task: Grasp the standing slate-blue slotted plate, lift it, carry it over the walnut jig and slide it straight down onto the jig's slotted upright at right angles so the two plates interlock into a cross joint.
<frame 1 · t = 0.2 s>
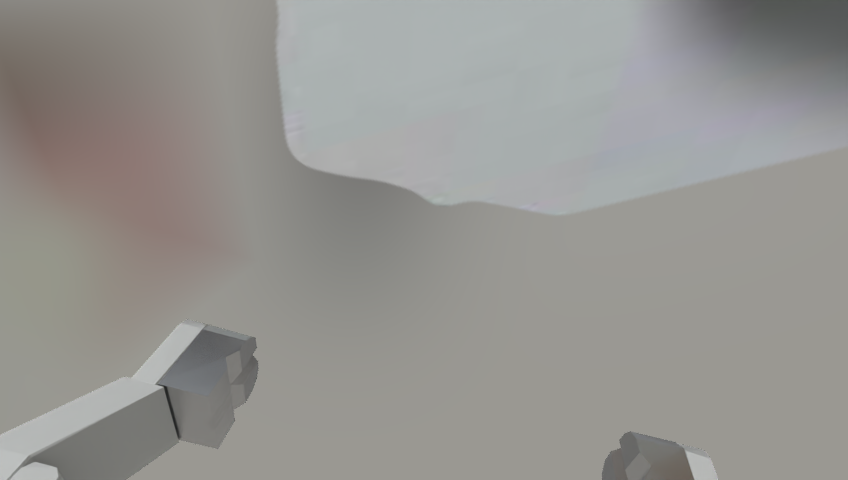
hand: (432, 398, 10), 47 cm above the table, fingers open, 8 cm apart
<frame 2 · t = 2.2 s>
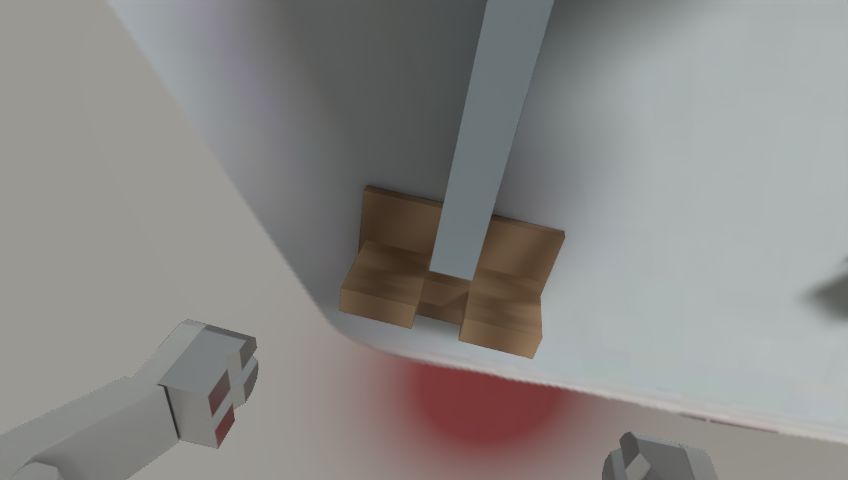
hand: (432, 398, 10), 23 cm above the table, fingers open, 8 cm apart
slotted plate: (492, 95, 28), on the table
jig: (450, 265, 37), on the table
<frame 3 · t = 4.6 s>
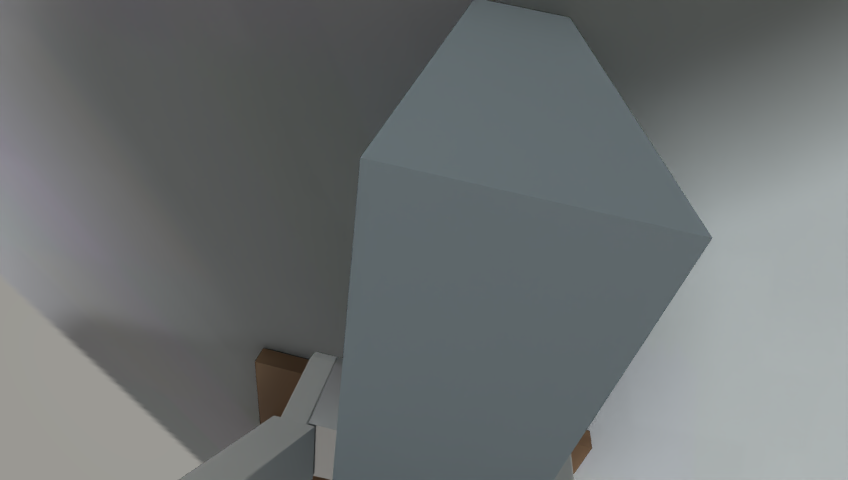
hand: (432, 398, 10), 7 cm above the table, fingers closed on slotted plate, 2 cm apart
slotted plate: (463, 235, 15), on the table, touching gripper
jig: (406, 453, 23), on the table
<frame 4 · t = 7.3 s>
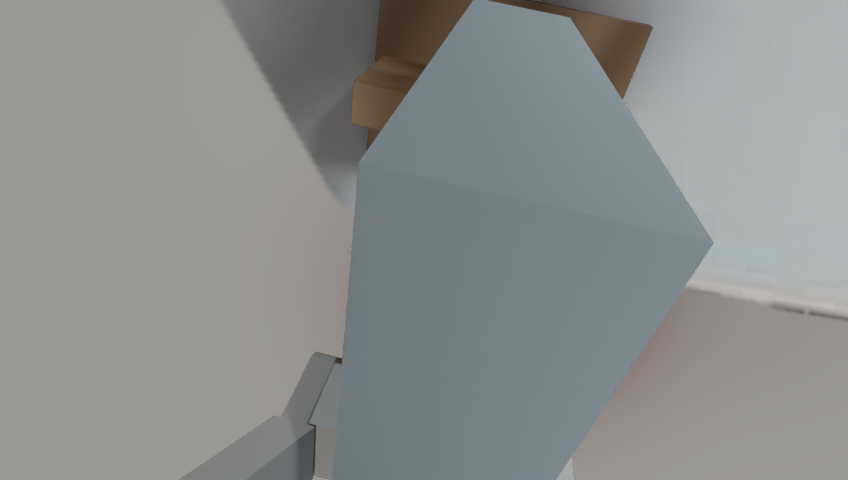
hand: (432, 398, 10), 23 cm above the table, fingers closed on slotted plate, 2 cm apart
slotted plate: (463, 235, 15), point 16 cm above the table, touching gripper
jig: (491, 94, 28), on the table
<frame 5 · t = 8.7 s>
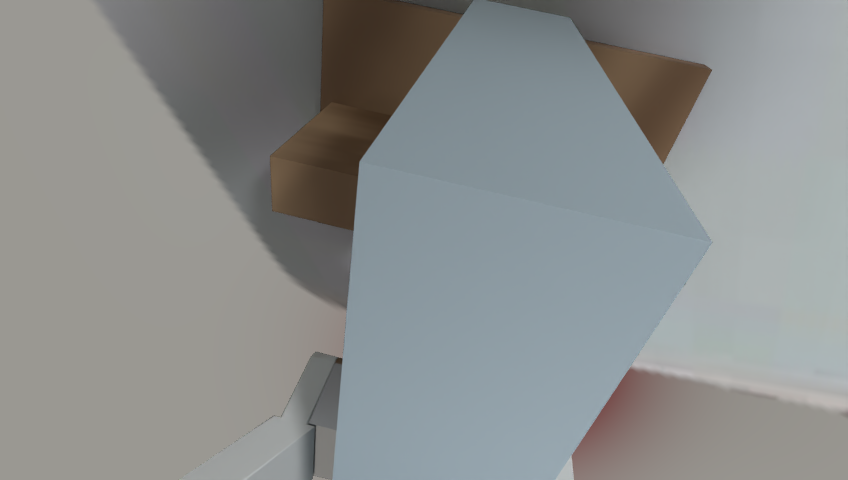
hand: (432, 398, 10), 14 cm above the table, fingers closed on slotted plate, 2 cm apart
slotted plate: (463, 235, 15), point 7 cm above the table, touching gripper
jig: (481, 152, 21), on the table
when the fingers open (8 cm above the table, at t = 10.0 s): slotted plate stays where it is, resting on jig.
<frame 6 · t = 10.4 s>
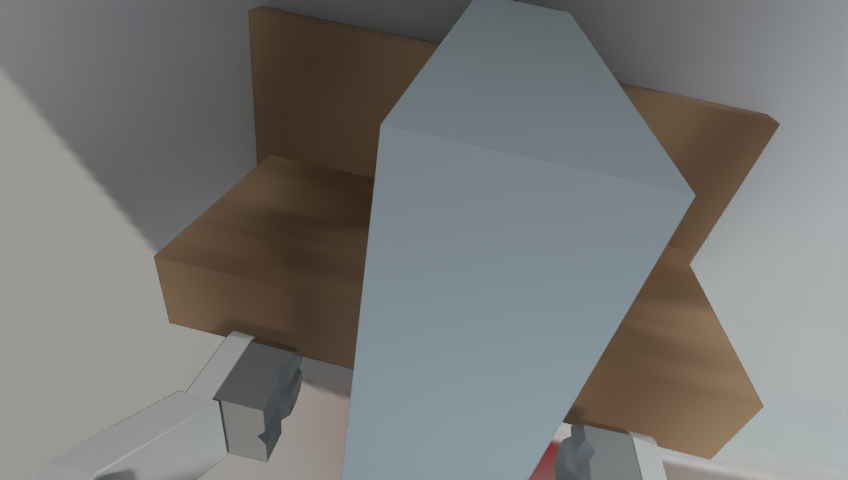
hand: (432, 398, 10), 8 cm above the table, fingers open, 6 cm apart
slotted plate: (465, 226, 16), point 1 cm above the table, touching jig
jig: (466, 216, 16), on the table
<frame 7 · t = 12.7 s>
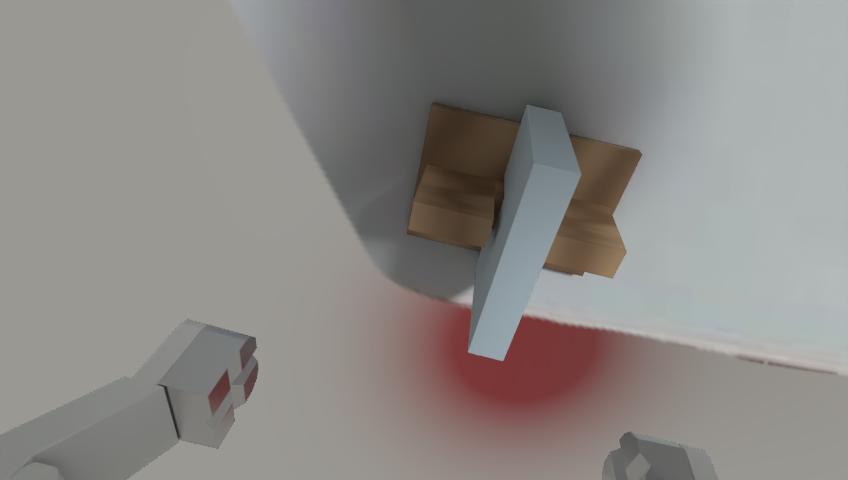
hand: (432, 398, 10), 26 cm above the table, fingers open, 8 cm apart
slotted plate: (513, 197, 34), point 1 cm above the table, touching jig
jig: (513, 193, 35), on the table
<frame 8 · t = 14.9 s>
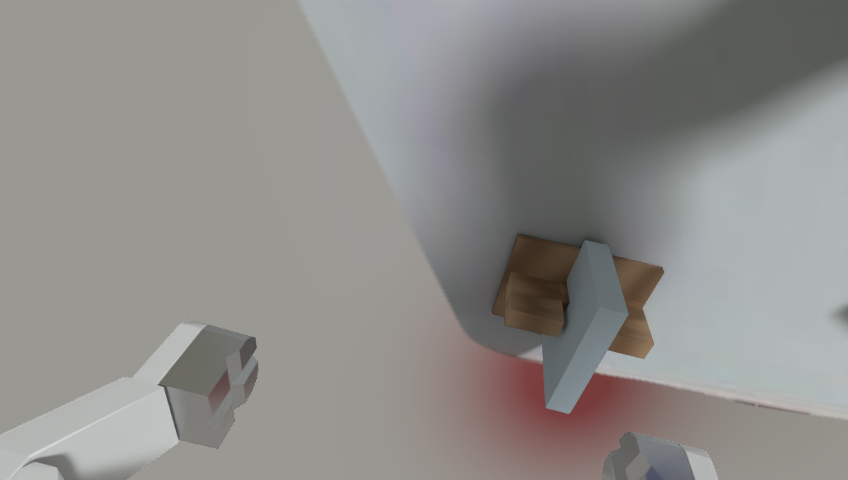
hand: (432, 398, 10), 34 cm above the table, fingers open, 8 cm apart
slotted plate: (572, 294, 49), point 1 cm above the table, touching jig
jig: (571, 289, 50), on the table
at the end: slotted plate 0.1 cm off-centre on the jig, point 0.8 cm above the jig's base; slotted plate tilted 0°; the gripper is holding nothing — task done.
